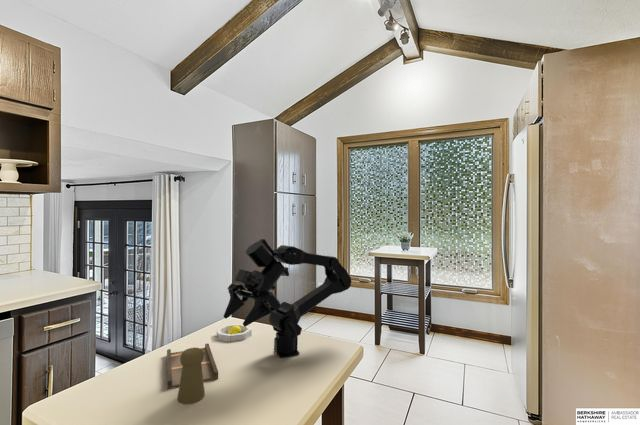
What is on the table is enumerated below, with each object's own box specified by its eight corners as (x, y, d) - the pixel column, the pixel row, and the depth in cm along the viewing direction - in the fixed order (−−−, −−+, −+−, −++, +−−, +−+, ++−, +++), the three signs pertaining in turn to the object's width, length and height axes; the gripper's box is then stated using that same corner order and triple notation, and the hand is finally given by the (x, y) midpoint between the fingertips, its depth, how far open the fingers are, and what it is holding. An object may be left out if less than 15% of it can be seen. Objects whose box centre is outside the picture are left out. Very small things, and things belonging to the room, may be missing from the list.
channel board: (208, 348, 101) (208, 343, 101) (218, 378, 82) (218, 371, 82) (166, 355, 96) (167, 349, 96) (167, 389, 77) (167, 381, 77)
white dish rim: (246, 327, 121) (246, 322, 121) (254, 338, 111) (254, 332, 111) (215, 332, 116) (215, 326, 116) (220, 343, 106) (220, 337, 106)
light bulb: (242, 335, 114) (240, 327, 113) (226, 342, 111) (224, 334, 110) (240, 329, 117) (238, 322, 115) (224, 336, 114) (222, 328, 113)
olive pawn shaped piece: (171, 402, 71) (172, 353, 72) (187, 388, 77) (188, 343, 78) (195, 405, 70) (197, 356, 71) (209, 391, 76) (210, 345, 77)
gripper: (235, 256, 97) (198, 296, 88) (274, 263, 85) (237, 310, 76) (254, 280, 103) (221, 320, 94) (294, 289, 90) (261, 336, 81)
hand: (233, 321), depth 86 cm, fingers open, 9 cm apart
